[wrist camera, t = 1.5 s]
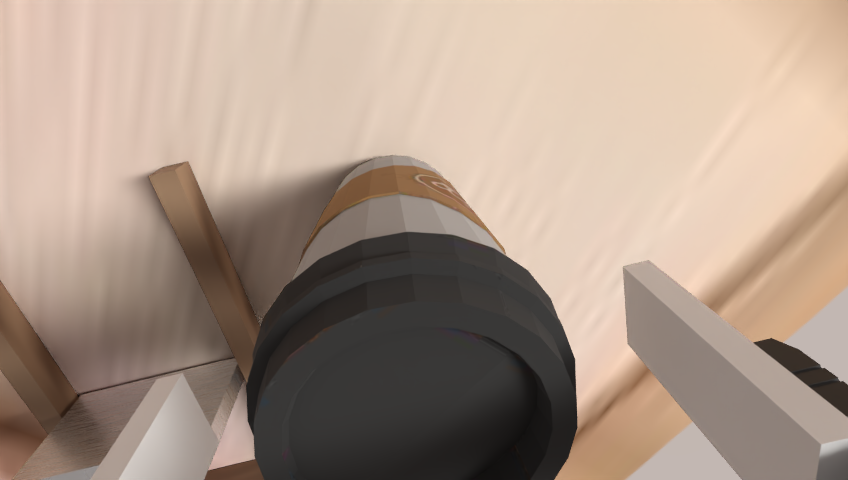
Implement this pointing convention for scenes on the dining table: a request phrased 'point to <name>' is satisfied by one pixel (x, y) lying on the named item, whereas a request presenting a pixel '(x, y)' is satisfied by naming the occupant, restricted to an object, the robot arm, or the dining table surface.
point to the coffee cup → (409, 346)
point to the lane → (199, 237)
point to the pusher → (123, 421)
